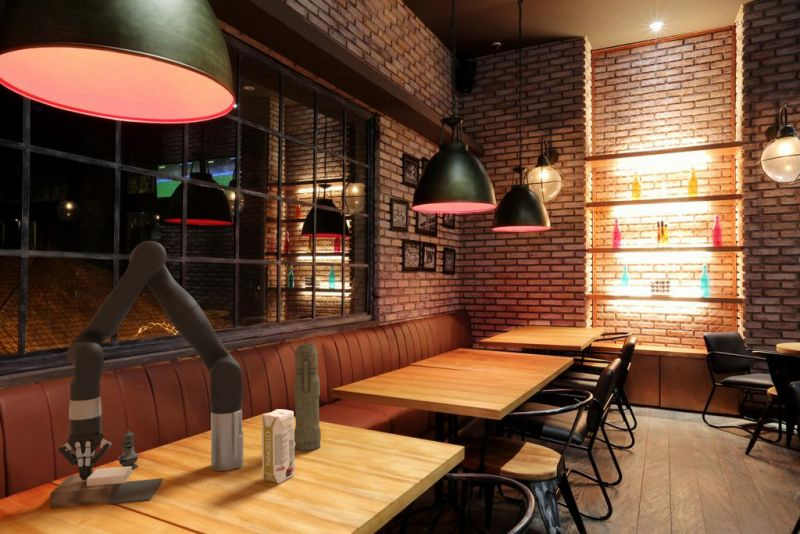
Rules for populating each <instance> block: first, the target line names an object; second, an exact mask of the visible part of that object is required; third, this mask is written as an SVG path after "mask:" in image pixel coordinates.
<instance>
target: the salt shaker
mask: <svg viewBox="0 0 800 534" xmlns="http://www.w3.org/2000/svg"><path fill="white" fill-rule="evenodd" d="M135 444H136V443H135V442H134V433H133V431H130V430H129V429H127V430H126V432H124V433H123V434H122V444H121V446H122V454H121V455H119V456H118V457H117V460H118V462H119V464H120V465H121V467H127V466H132V471H134V470H136V469H137V468H138V467H139V465H138V464H136V462H137V461H138V459H139V457H140V454H139V453H137V452H135V449H134V448H135ZM135 468H136V469H135Z"/></svg>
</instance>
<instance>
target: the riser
mask: <svg viewBox="0 0 800 534" xmlns="http://www.w3.org/2000/svg"><path fill="white" fill-rule="evenodd" d="M125 482H126V481H125ZM125 482H124V483H125ZM124 483H119V484H107V485H96V486H87V480H82V478H80V477H79V474H73V475H71V474H70V475H69V476H67V478H66V479H64V480H63V481H62V482H61V483H59V484H58V485H57V486H56V487H55V489H53V490H52V491H51V492H50V494H49V496H50V497H49V499H50V500H49V501H50V502H49V503H50V504H49V506H50V507H49V508H50V510H51V509H62V508H63V507H64V508H75V507H81V506H92V505H103V504H109V502H110V500H111V499H112V498H113V497H114V495H115V494H116V493H117V492H118V491H119V489H120V488H121V487H122V486H123V484H124Z"/></svg>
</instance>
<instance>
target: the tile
mask: <svg viewBox="0 0 800 534" xmlns="http://www.w3.org/2000/svg"><path fill="white" fill-rule="evenodd" d="M132 474H133V470H132V466H127V467H122V466H117V467H104V468H97V469H95V470H93V473H92V474H91V475H90V476H89V477H88V478H87V486H96V485H107V484H119V483H124V482H127V481H128V478H130V476H131V475H132Z"/></svg>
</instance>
